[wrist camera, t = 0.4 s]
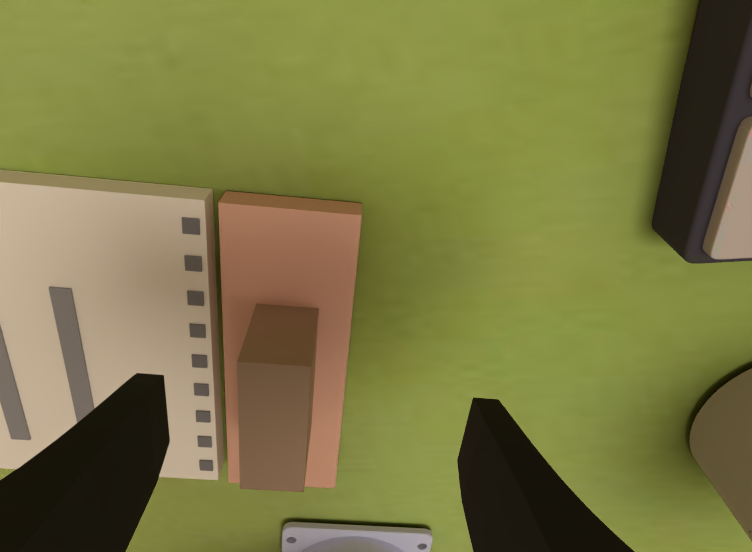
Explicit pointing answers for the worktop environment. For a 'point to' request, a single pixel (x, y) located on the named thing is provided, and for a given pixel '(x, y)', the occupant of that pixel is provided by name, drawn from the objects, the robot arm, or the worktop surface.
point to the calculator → (711, 142)
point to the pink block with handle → (286, 335)
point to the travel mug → (728, 445)
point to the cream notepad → (107, 310)
